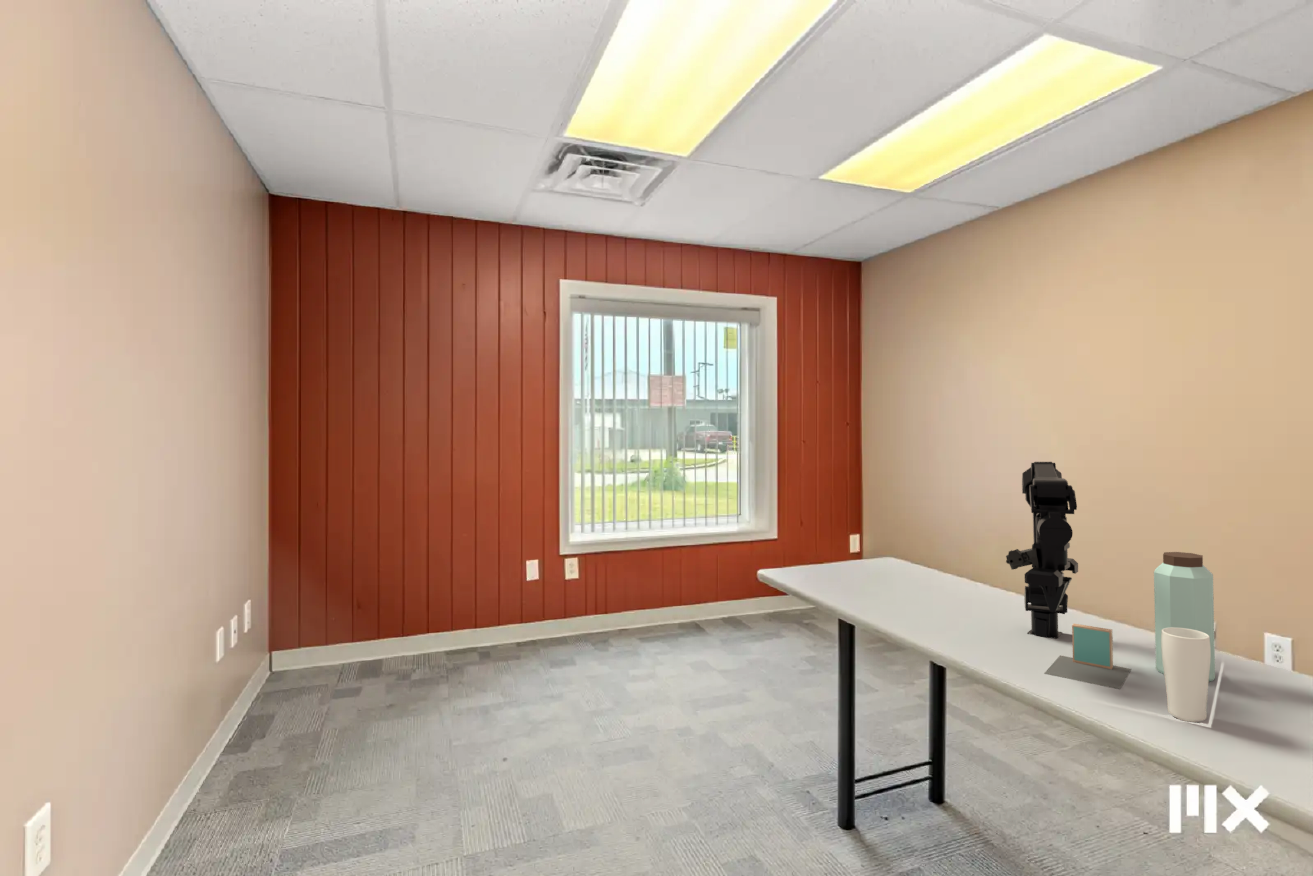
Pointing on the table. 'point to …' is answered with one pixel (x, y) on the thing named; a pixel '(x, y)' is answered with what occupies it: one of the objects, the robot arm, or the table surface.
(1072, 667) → the mat
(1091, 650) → the tile
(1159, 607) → the water bottle
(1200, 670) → the drinking glass
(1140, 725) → the table surface
